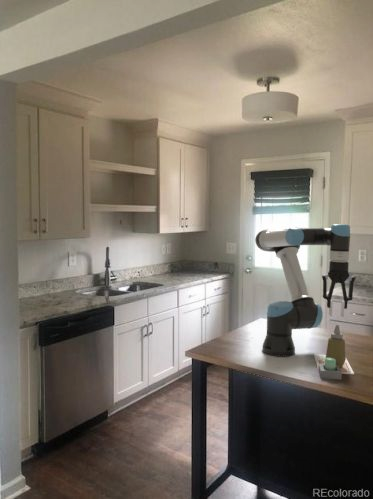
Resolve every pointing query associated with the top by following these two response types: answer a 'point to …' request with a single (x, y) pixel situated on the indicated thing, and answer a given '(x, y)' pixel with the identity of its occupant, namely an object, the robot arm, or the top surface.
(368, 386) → the top surface
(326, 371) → the button collar
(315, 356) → the picture sheet
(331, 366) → the button
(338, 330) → the squeeze bottle
